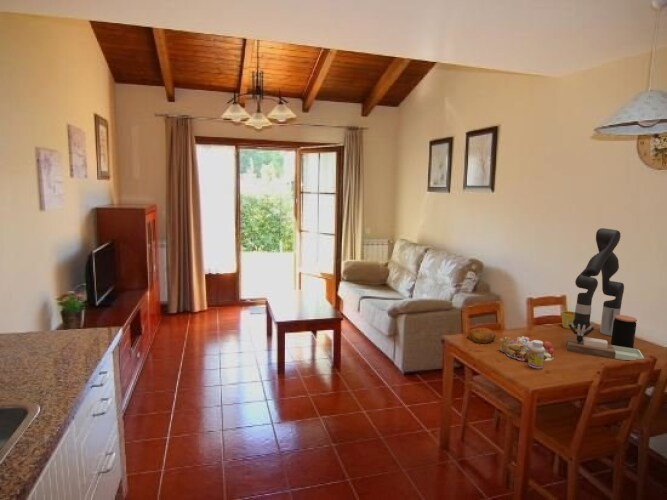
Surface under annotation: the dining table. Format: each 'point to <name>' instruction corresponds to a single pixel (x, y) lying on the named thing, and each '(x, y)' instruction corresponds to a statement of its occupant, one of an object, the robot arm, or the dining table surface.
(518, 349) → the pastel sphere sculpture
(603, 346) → the tile
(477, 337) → the round bread loaf
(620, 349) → the tray
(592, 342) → the tile
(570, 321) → the plant pot
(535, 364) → the supplement bottle
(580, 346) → the board
